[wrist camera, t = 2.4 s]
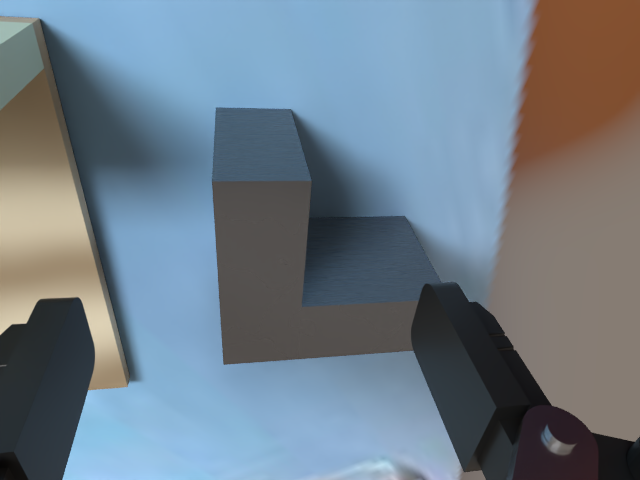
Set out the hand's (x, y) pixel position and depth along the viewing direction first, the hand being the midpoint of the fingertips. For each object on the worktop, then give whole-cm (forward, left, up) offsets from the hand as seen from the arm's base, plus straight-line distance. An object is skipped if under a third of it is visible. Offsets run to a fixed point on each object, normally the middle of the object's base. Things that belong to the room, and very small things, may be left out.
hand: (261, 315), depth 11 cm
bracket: (+1, +3, -7) cm, 8 cm away
